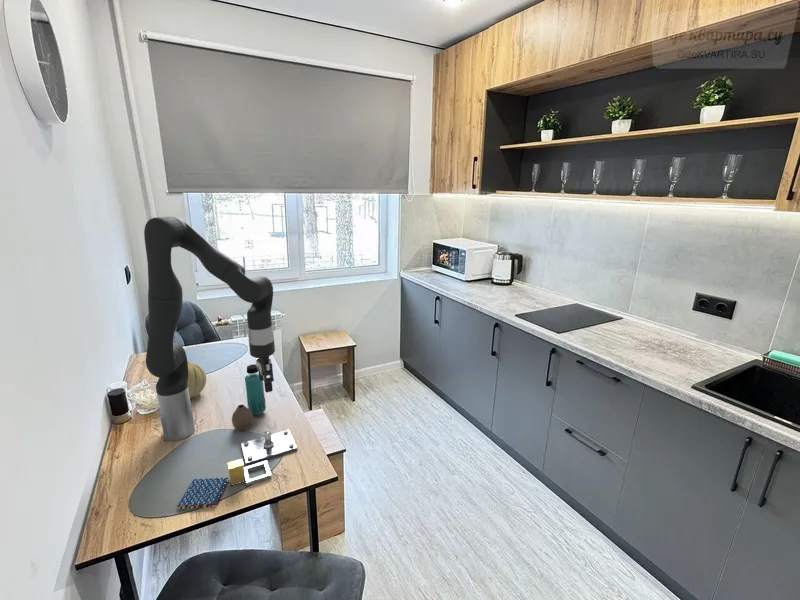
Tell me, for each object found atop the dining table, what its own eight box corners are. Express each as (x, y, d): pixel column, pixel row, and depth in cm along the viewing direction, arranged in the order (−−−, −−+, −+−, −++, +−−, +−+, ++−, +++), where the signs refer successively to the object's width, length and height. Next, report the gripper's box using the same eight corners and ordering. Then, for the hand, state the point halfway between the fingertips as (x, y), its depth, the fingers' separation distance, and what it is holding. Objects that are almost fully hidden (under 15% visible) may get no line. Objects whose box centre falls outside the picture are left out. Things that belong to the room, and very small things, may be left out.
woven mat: (193, 482, 113) (192, 477, 112) (230, 481, 114) (229, 475, 113) (175, 511, 103) (174, 505, 102) (216, 509, 104) (215, 503, 103)
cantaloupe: (165, 409, 149) (159, 374, 144) (170, 391, 161) (164, 359, 157) (208, 401, 154) (203, 367, 150) (209, 384, 167) (204, 353, 163)
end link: (231, 491, 109) (229, 473, 108) (229, 475, 115) (226, 458, 113) (271, 477, 114) (269, 461, 113) (267, 463, 120) (265, 447, 119)
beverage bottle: (260, 419, 143) (255, 370, 137) (244, 417, 144) (239, 369, 139) (269, 409, 149) (265, 363, 144) (254, 407, 150) (249, 361, 145)
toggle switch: (245, 465, 119) (243, 449, 117) (241, 445, 128) (239, 430, 127) (297, 450, 127) (296, 434, 125) (289, 432, 136) (288, 417, 134)
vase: (234, 435, 134) (231, 413, 131) (232, 424, 140) (229, 403, 137) (254, 430, 137) (252, 408, 134) (252, 420, 143) (249, 399, 140)
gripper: (244, 334, 124) (249, 379, 129) (253, 350, 113) (258, 398, 117) (268, 330, 128) (272, 374, 133) (279, 345, 116) (283, 392, 121)
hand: (265, 385), depth 125 cm, fingers open, 8 cm apart
